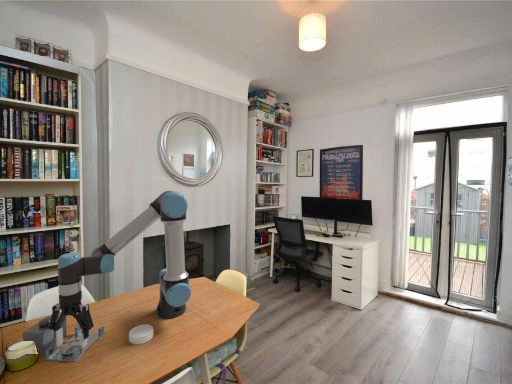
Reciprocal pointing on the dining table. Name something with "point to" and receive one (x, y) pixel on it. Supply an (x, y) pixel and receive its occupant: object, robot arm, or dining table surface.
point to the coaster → (140, 334)
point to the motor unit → (47, 341)
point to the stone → (70, 345)
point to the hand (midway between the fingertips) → (71, 345)
